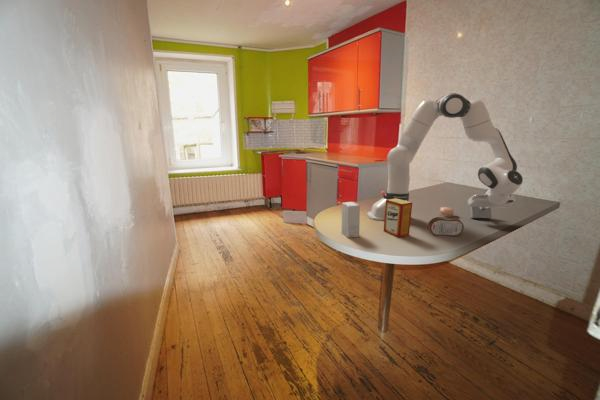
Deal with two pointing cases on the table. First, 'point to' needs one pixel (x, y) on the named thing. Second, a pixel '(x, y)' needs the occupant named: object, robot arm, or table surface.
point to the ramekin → (446, 211)
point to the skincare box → (350, 219)
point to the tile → (480, 213)
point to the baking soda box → (397, 217)
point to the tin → (445, 226)
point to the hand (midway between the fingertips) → (482, 208)
